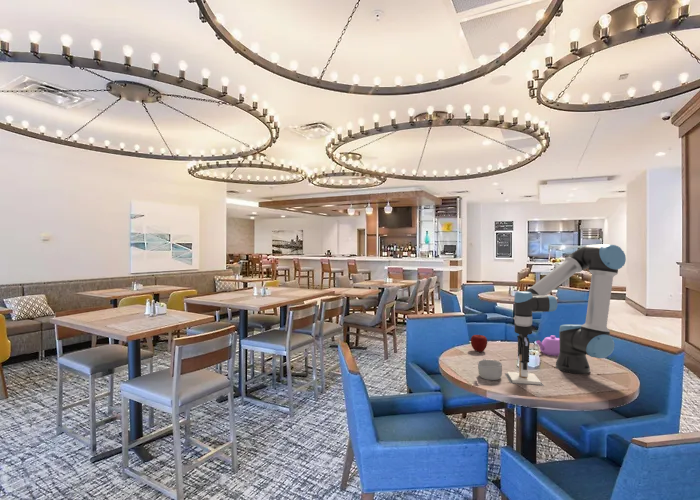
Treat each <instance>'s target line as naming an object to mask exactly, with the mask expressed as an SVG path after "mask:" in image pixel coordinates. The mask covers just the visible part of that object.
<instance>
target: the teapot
mask: <svg viewBox="0 0 700 500" xmlns="http://www.w3.org/2000/svg"><path fill="white" fill-rule="evenodd" d="M535 343H536V344H537V345H538V346H539V350H540V352H541V353H542V354H544V355H548V356H553V357H558V356H559V353H560V342H559V337H556V335H550V336H547V337H544V339H543V340H542V341H541V340H538V339H537V340H536V341H535Z"/></svg>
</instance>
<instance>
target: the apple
mask: <svg viewBox="0 0 700 500" xmlns="http://www.w3.org/2000/svg"><path fill="white" fill-rule="evenodd" d="M470 344H471V347H472V349H473V350H474V351H475V352H479V353H482V352H484V351H485V350H486V348H487V346H488V338H487V337H486V336H485V335H481V334H473V335H471V337H470Z"/></svg>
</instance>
